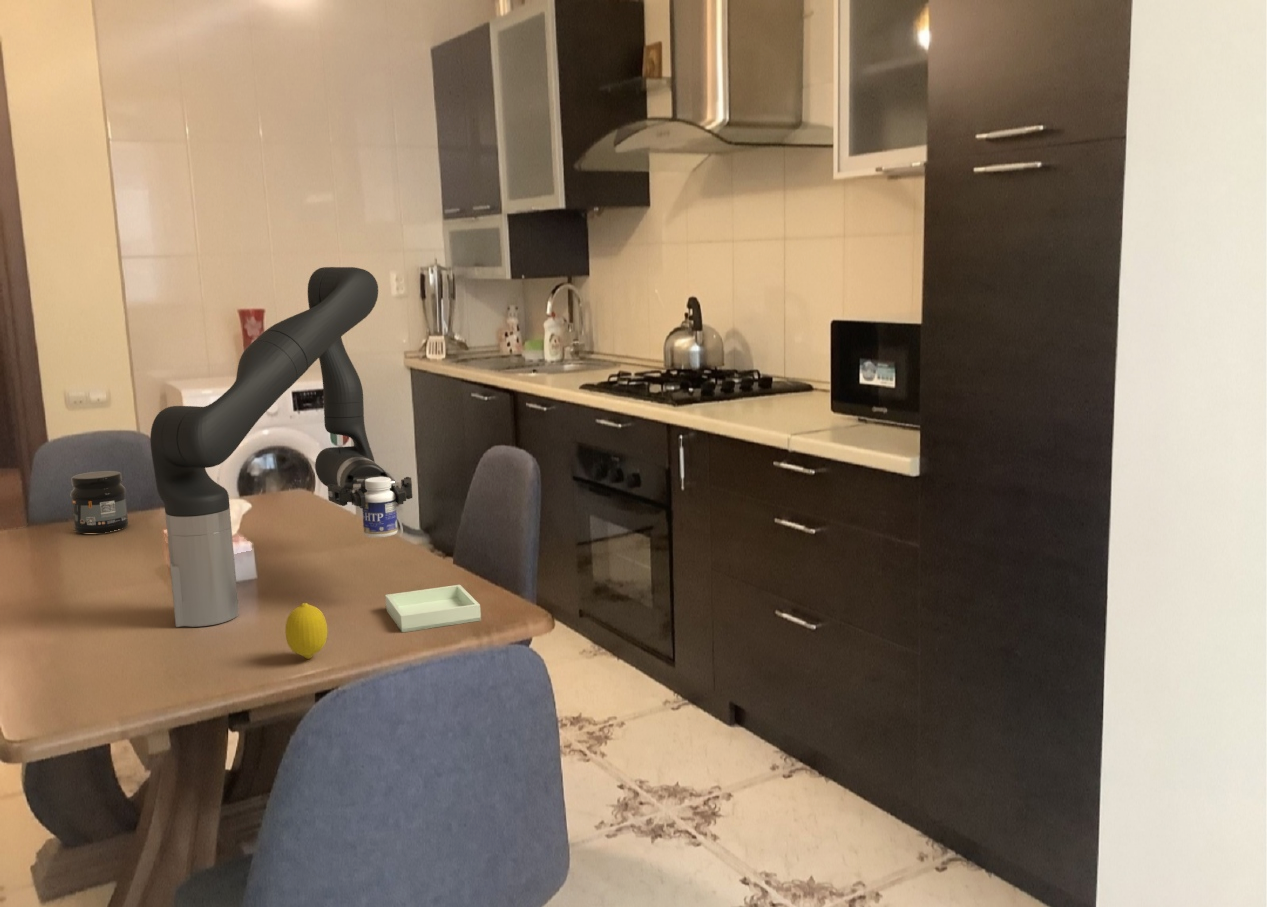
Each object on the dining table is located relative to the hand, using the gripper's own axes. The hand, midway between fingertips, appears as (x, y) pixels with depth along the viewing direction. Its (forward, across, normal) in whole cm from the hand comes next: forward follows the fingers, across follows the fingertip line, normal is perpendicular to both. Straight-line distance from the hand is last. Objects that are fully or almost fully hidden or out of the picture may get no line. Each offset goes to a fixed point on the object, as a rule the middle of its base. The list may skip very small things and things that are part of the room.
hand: (382, 499), depth 166 cm
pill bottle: (-3, 0, +6) cm, 7 cm away
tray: (+7, +5, +18) cm, 20 cm away
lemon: (+17, -15, +18) cm, 29 cm away
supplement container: (-85, -44, +19) cm, 97 cm away
